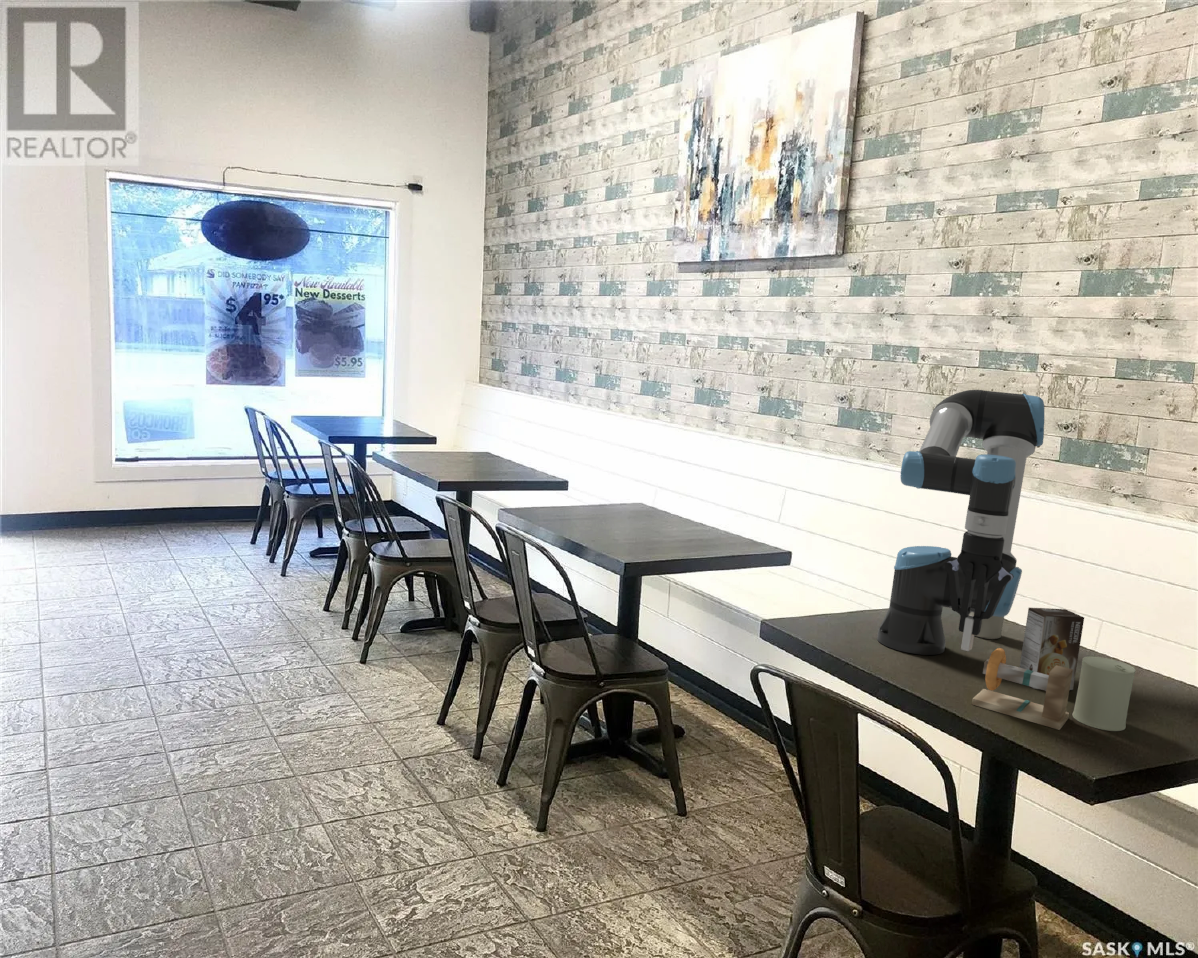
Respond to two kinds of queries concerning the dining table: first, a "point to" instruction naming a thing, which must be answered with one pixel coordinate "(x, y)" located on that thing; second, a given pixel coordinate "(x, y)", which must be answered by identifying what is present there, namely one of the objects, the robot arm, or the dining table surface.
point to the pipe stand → (1044, 714)
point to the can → (1104, 693)
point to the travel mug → (990, 627)
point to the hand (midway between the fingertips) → (966, 648)
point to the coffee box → (1051, 640)
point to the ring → (994, 668)
